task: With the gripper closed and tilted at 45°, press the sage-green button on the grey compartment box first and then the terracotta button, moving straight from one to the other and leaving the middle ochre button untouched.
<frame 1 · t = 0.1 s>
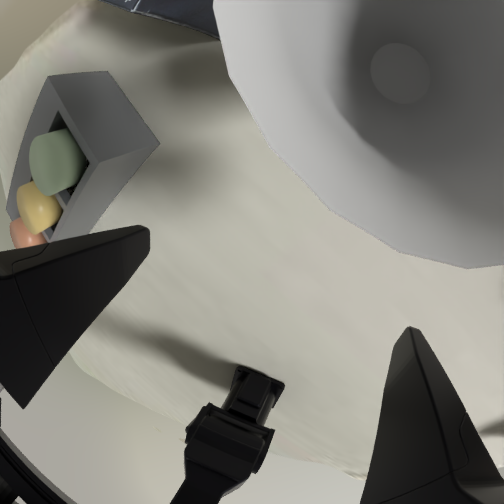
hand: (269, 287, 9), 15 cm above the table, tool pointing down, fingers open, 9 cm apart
chalice: (385, 88, 16), on the table
grey compartment box: (86, 170, 30), on the table
button terracotta: (28, 236, 27), point 8 cm above the table, slide at 0.0 cm
button ochre: (38, 205, 23), point 8 cm above the table, slide at 0.0 cm
button sage: (56, 161, 20), point 8 cm above the table, slide at 0.0 cm
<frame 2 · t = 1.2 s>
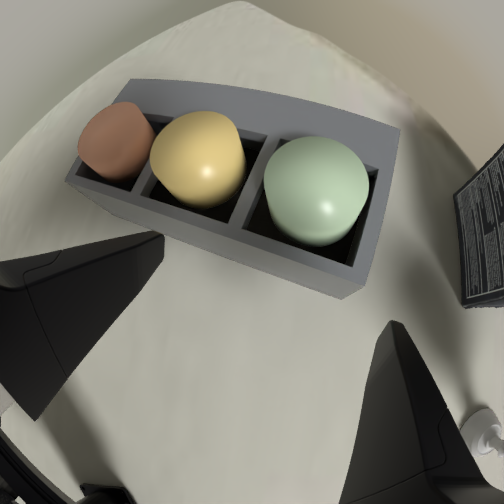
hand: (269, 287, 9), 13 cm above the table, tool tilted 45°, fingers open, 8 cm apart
chalice: (476, 433, 16), on the table
grey compartment box: (234, 194, 25), on the table
button terracotta: (117, 142, 18), point 8 cm above the table, slide at 0.0 cm
button ochre: (199, 159, 17), point 8 cm above the table, slide at 0.0 cm
small box: (483, 250, 21), on the table
button sage: (315, 192, 15), point 8 cm above the table, slide at 0.0 cm
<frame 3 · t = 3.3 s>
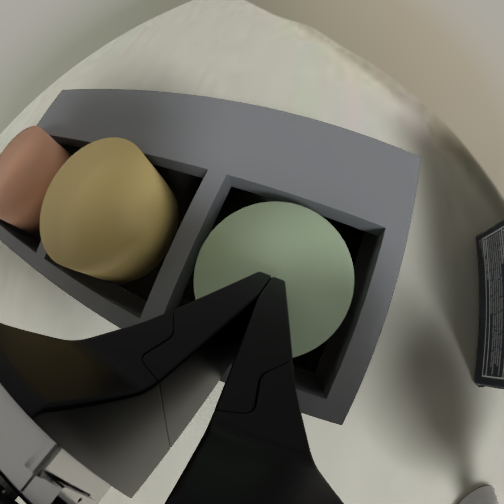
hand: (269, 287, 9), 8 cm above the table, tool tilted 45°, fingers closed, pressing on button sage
grey compartment box: (186, 238, 19), on the table
button terracotta: (28, 179, 12), point 8 cm above the table, slide at 0.0 cm
button ochre: (107, 212, 11), point 8 cm above the table, slide at 0.0 cm
button sage: (275, 284, 11), point 6 cm above the table, slide at -1.6 cm, touching gripper
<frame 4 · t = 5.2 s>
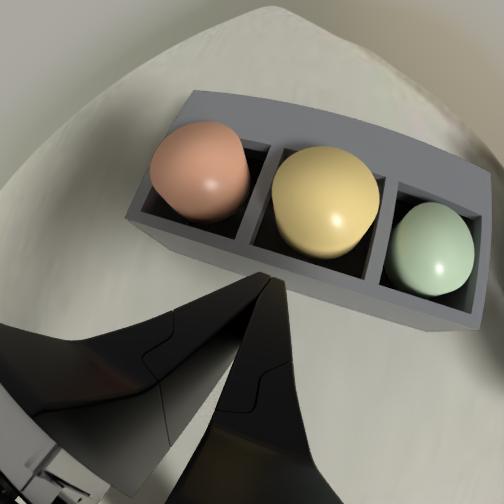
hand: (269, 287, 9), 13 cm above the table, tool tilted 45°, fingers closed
grey compartment box: (318, 228, 23), on the table
button terracotta: (202, 172, 16), point 8 cm above the table, slide at 0.0 cm
button ochre: (323, 203, 15), point 8 cm above the table, slide at 0.0 cm
button sage: (428, 252, 15), point 6 cm above the table, slide at -1.9 cm
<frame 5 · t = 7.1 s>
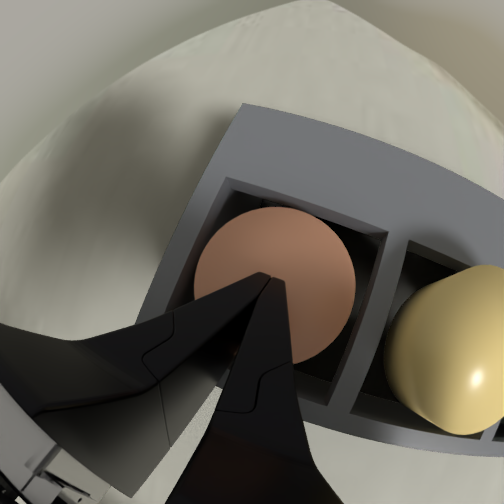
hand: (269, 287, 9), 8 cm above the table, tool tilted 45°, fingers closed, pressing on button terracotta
grey compartment box: (399, 320, 15), on the table
button terracotta: (276, 290, 11), point 6 cm above the table, slide at -1.8 cm, touching gripper
button ochre: (463, 350, 7), point 8 cm above the table, slide at 0.0 cm
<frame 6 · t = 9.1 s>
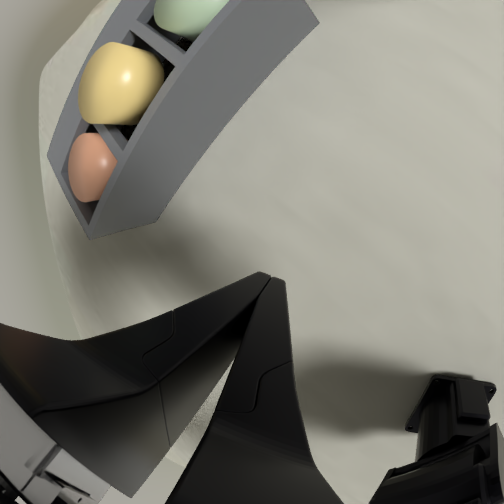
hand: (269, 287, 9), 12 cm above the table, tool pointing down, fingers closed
grey compartment box: (185, 91, 21), on the table
button terracotta: (98, 166, 20), point 6 cm above the table, slide at -1.9 cm
button ochre: (118, 84, 14), point 8 cm above the table, slide at 0.0 cm
button sage: (202, 3, 13), point 6 cm above the table, slide at -1.9 cm
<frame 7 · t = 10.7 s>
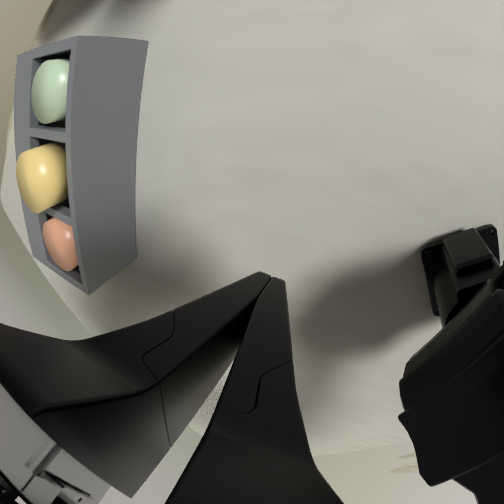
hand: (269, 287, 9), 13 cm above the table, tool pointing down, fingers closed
grey compartment box: (99, 150, 25), on the table
button terracotta: (68, 239, 24), point 6 cm above the table, slide at -1.9 cm
button ochre: (43, 177, 19), point 8 cm above the table, slide at 0.0 cm
button sage: (60, 89, 16), point 6 cm above the table, slide at -1.9 cm
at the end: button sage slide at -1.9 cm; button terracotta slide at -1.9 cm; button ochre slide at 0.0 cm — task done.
